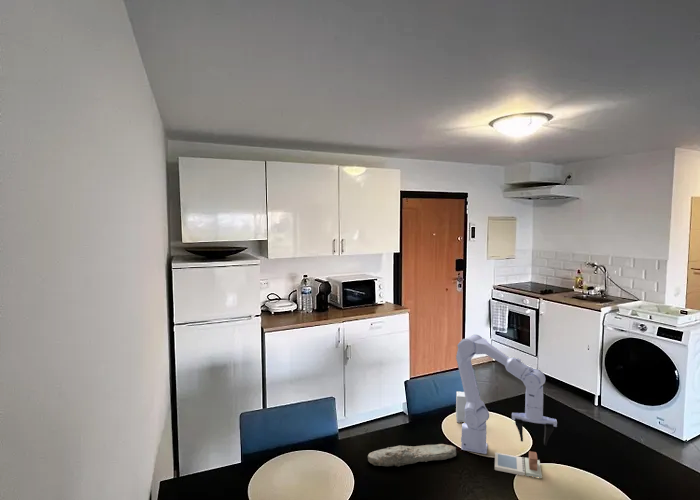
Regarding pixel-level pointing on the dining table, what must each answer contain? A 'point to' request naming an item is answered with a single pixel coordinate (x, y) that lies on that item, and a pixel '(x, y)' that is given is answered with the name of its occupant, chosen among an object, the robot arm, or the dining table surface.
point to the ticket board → (509, 463)
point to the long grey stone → (410, 454)
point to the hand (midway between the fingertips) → (533, 442)
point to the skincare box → (460, 406)
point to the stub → (533, 465)
